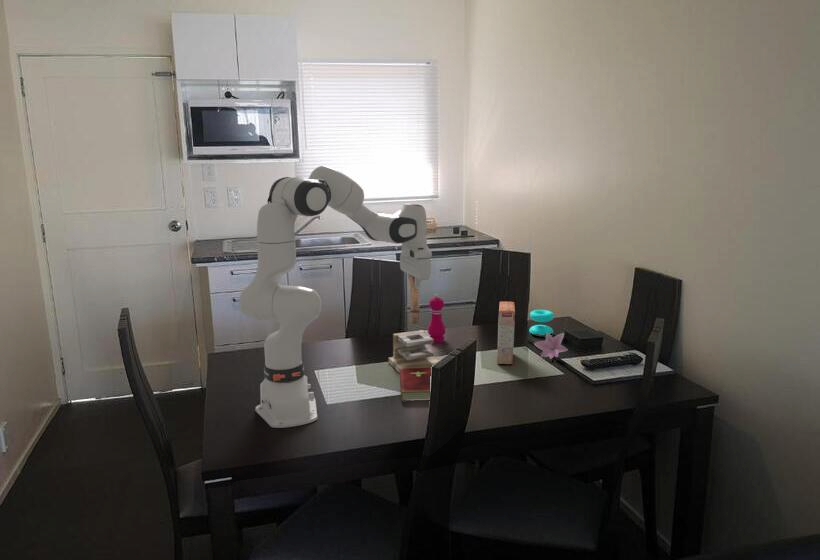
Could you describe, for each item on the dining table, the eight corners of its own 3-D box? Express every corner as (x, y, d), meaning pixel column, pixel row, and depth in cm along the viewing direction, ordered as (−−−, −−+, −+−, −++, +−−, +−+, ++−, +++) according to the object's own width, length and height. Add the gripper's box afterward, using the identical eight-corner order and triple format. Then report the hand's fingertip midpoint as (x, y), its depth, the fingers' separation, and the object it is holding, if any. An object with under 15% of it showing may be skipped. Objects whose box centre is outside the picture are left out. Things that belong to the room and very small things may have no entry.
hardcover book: (401, 403, 200) (401, 390, 199) (399, 378, 221) (399, 367, 220) (438, 402, 201) (438, 389, 200) (433, 377, 221) (433, 366, 220)
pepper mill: (426, 343, 257) (426, 295, 252) (429, 337, 263) (429, 291, 259) (443, 344, 255) (443, 296, 250) (446, 338, 262) (447, 292, 257)
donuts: (544, 316, 257) (524, 311, 264) (543, 340, 259) (524, 334, 267) (559, 312, 263) (539, 307, 271) (558, 335, 265) (539, 329, 273)
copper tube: (420, 323, 227) (420, 274, 223) (412, 324, 226) (411, 275, 222) (417, 320, 230) (417, 272, 226) (408, 321, 229) (408, 273, 225)
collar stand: (443, 368, 228) (443, 340, 226) (401, 375, 222) (401, 345, 220) (427, 356, 241) (427, 329, 238) (388, 362, 235) (387, 334, 232)
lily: (531, 356, 243) (528, 339, 237) (555, 341, 246) (553, 324, 240) (551, 374, 234) (549, 357, 228) (575, 358, 237) (574, 341, 231)
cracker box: (513, 366, 230) (515, 311, 226) (497, 365, 231) (498, 310, 226) (513, 353, 244) (515, 301, 239) (497, 352, 245) (499, 300, 240)
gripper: (395, 245, 230) (396, 282, 233) (416, 254, 211) (417, 294, 215) (411, 244, 232) (411, 280, 235) (434, 253, 214) (434, 292, 217)
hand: (414, 287), depth 225 cm, fingers closed on copper tube, 3 cm apart
